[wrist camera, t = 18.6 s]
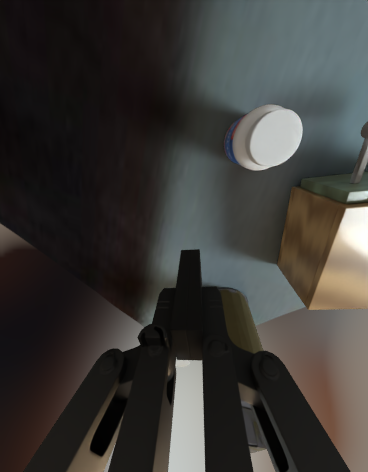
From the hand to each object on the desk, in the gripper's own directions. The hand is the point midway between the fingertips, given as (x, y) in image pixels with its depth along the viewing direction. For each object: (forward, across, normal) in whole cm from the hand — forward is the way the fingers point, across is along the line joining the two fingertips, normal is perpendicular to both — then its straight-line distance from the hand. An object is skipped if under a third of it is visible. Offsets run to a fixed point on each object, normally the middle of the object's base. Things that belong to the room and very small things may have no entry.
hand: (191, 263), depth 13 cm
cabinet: (+14, +21, -5) cm, 26 cm away
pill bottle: (+14, +7, +9) cm, 18 cm away
